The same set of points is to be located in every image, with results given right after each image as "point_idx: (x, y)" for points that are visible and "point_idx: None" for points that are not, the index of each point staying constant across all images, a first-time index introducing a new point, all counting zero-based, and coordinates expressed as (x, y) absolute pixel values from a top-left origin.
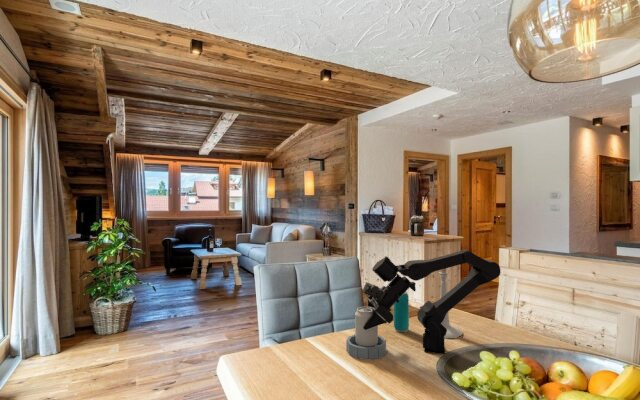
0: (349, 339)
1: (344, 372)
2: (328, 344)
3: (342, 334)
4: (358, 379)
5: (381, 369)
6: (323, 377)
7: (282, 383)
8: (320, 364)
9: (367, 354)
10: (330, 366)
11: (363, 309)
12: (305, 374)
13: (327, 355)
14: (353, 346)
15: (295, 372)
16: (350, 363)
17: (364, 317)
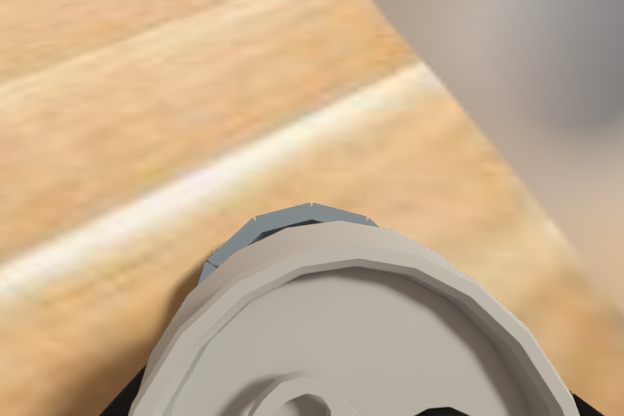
0: (326, 221)
1: (94, 199)
2: (376, 143)
3: (503, 205)
4: (16, 254)
5: (89, 377)
6: (69, 123)
7: (58, 9)
8: (181, 113)
9: None
10: (158, 148)
11: (342, 411)
12: (107, 67)
13: (263, 138)
14: (231, 239)
15: (129, 39)
16: (176, 228)
17: (144, 373)
